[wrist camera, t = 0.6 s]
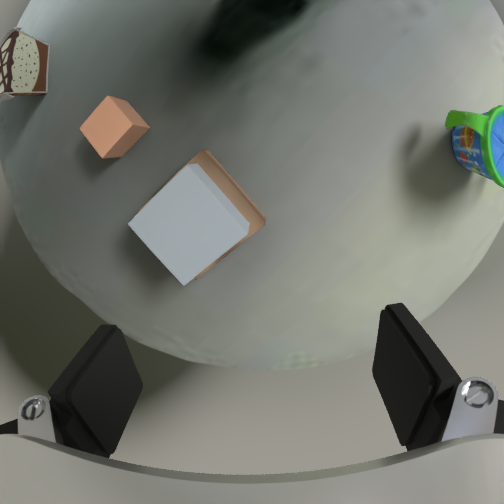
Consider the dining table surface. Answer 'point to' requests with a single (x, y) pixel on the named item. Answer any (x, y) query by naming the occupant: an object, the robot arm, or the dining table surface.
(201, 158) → the walnut slab
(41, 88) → the food container
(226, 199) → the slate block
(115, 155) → the terracotta cube
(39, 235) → the dining table surface
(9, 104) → the dining table surface
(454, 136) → the snack cup
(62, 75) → the dining table surface
